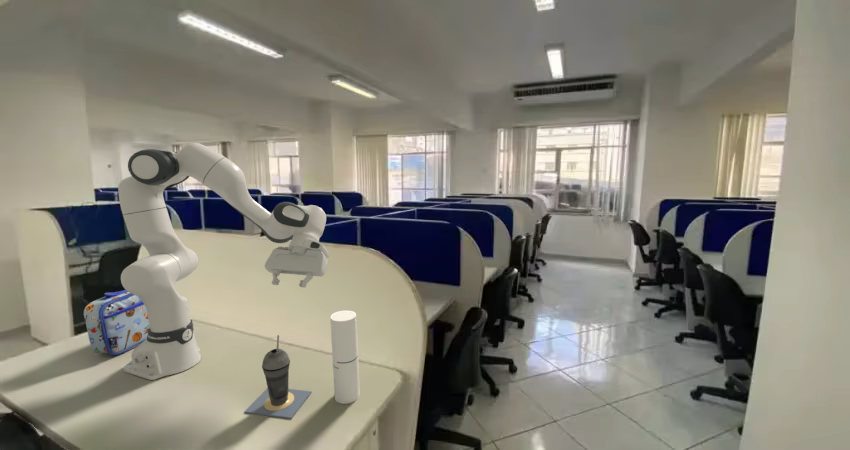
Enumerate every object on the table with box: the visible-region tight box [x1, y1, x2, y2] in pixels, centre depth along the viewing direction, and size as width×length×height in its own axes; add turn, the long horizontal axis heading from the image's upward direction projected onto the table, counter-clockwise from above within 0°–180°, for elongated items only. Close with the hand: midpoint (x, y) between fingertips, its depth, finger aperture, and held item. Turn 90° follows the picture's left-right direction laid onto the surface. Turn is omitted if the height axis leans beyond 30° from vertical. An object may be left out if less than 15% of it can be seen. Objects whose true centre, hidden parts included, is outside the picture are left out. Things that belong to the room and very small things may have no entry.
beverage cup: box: [261, 334, 291, 406], centre depth 98 cm, size 7×7×20 cm
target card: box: [244, 387, 313, 420], centre depth 100 cm, size 14×11×1 cm
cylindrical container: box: [330, 309, 361, 405], centre depth 101 cm, size 7×7×25 cm
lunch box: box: [83, 289, 150, 356], centre depth 132 cm, size 28×10×22 cm, turn 169°
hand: (288, 285), depth 111 cm, fingers open, 8 cm apart
